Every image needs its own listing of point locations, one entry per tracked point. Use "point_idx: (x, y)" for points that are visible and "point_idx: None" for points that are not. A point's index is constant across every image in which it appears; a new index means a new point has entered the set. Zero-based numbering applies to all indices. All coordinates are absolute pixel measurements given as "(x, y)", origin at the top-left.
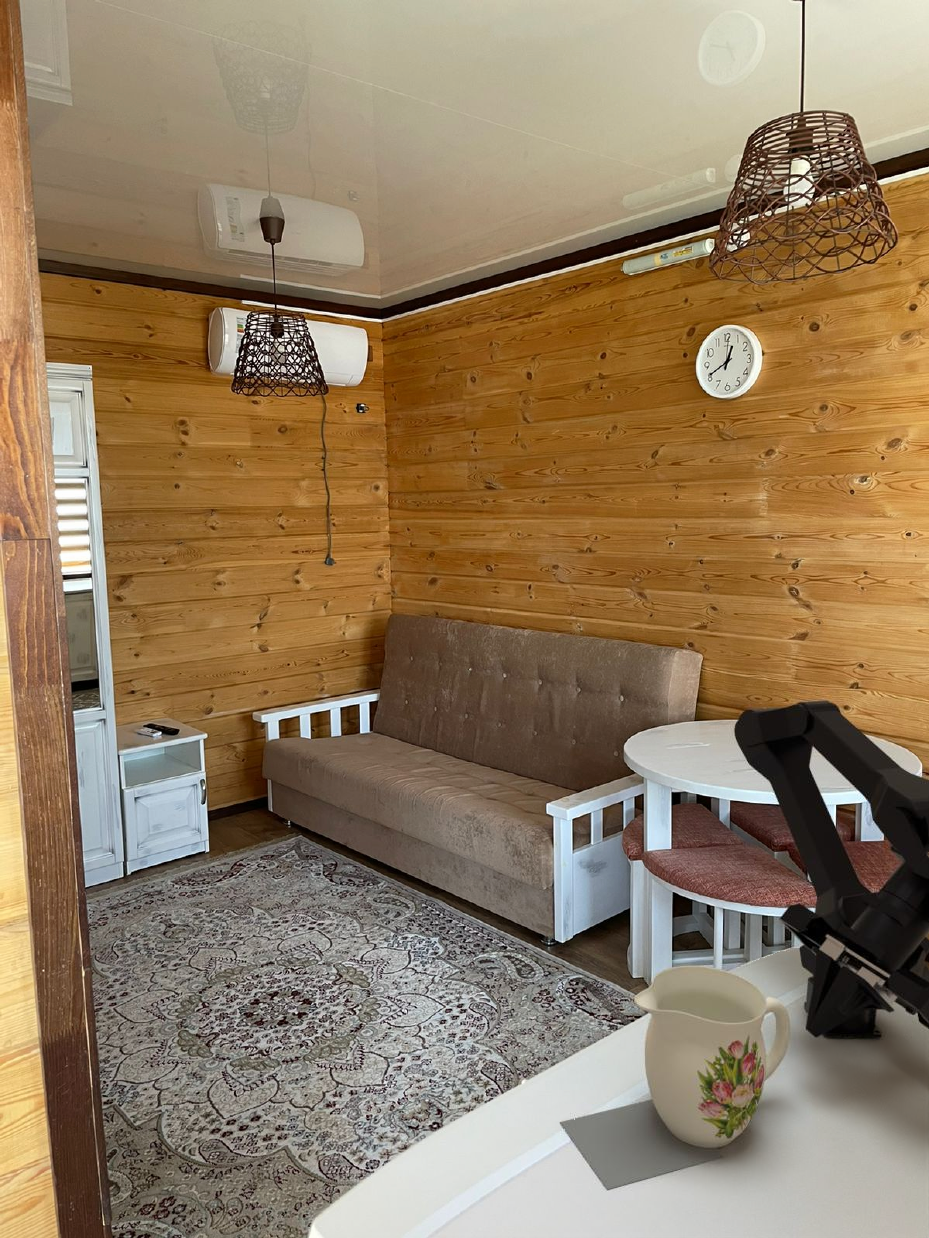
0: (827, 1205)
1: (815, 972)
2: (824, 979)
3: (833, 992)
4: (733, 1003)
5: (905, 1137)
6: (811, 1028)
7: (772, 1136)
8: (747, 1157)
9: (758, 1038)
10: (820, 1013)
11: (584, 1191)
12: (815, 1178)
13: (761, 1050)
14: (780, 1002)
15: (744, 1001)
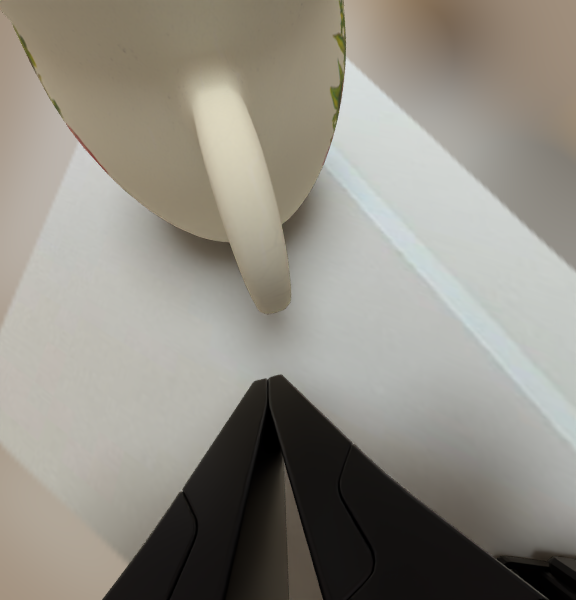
0: (54, 297)
1: (469, 552)
2: (330, 585)
3: (174, 564)
4: (266, 51)
5: (143, 535)
6: (256, 384)
7: (197, 283)
8: (165, 232)
9: (36, 50)
10: (240, 425)
11: None
12: (102, 306)
13: (57, 97)
14: (228, 194)
15: (212, 27)
